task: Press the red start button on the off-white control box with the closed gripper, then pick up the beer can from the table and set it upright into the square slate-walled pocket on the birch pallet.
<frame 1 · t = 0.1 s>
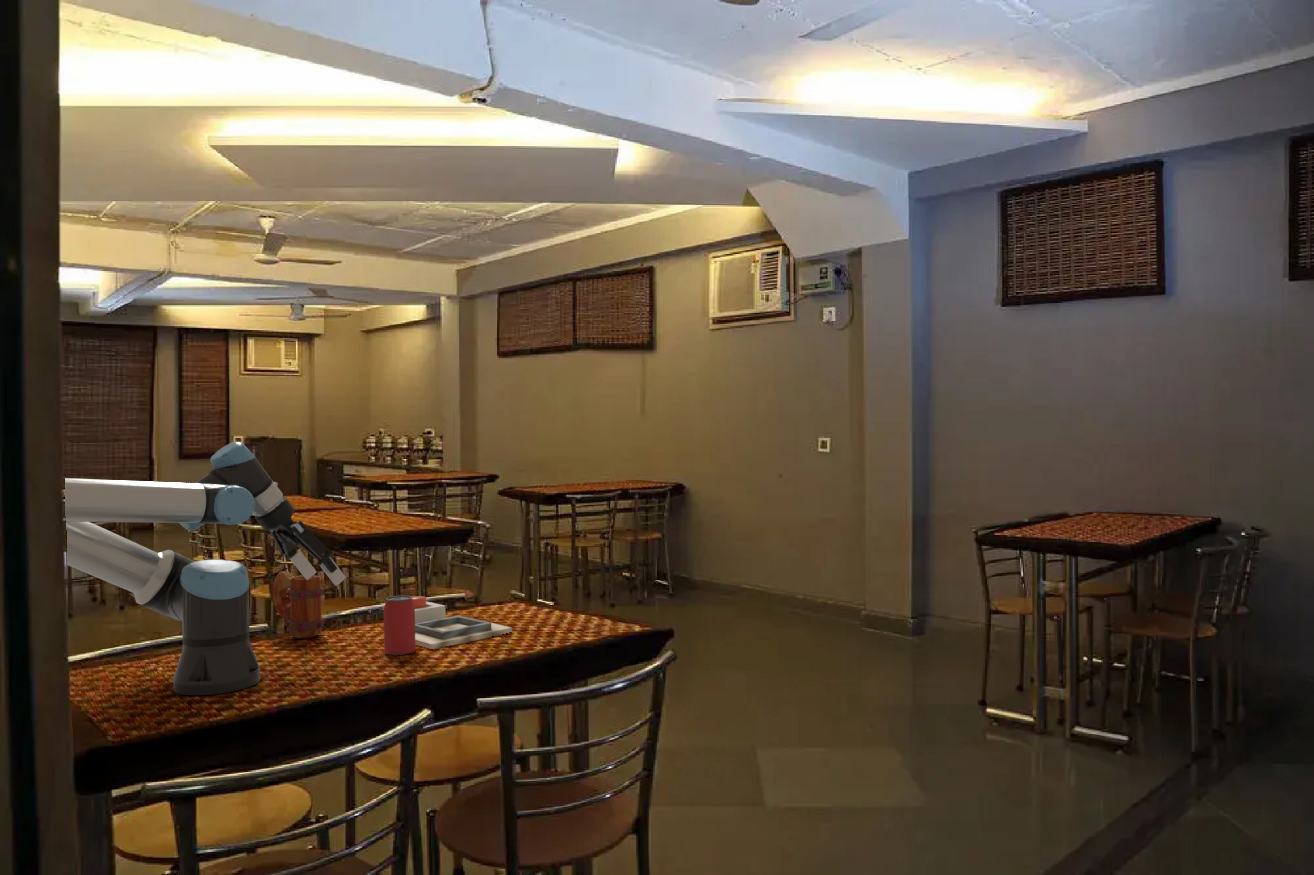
hand: (325, 578, 210), 15 cm above the table, tool tilted 35°, fingers open, 13 cm apart
button box: (416, 626, 231), on the table
start button: (416, 605, 230), point 5 cm above the table, slide at 0.0 cm
beer can: (400, 653, 204), on the table
mug: (298, 636, 222), on the table
pallet: (451, 635, 220), on the table
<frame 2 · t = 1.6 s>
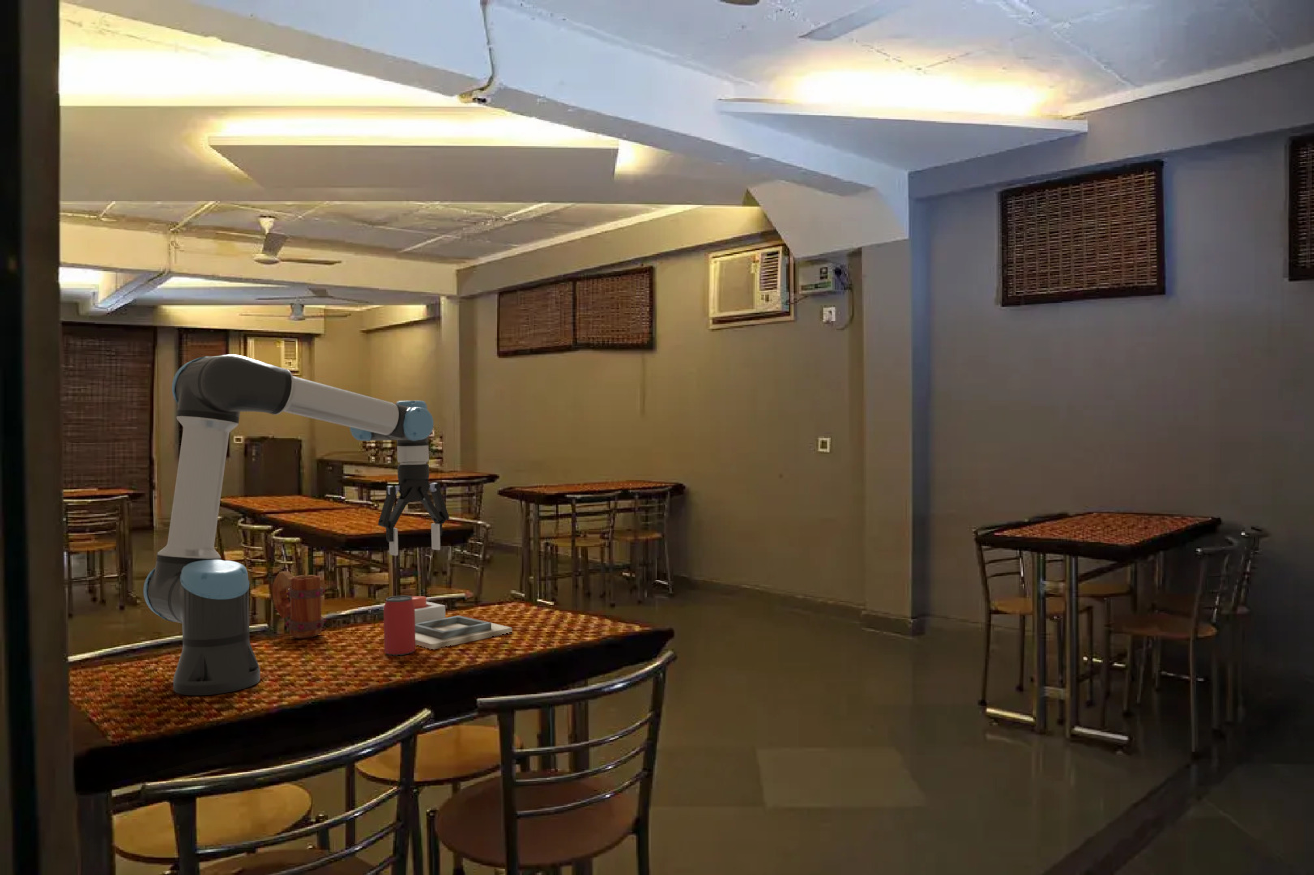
hand: (415, 552, 230), 18 cm above the table, tool pointing down, fingers open, 11 cm apart
nothing on the table moved.
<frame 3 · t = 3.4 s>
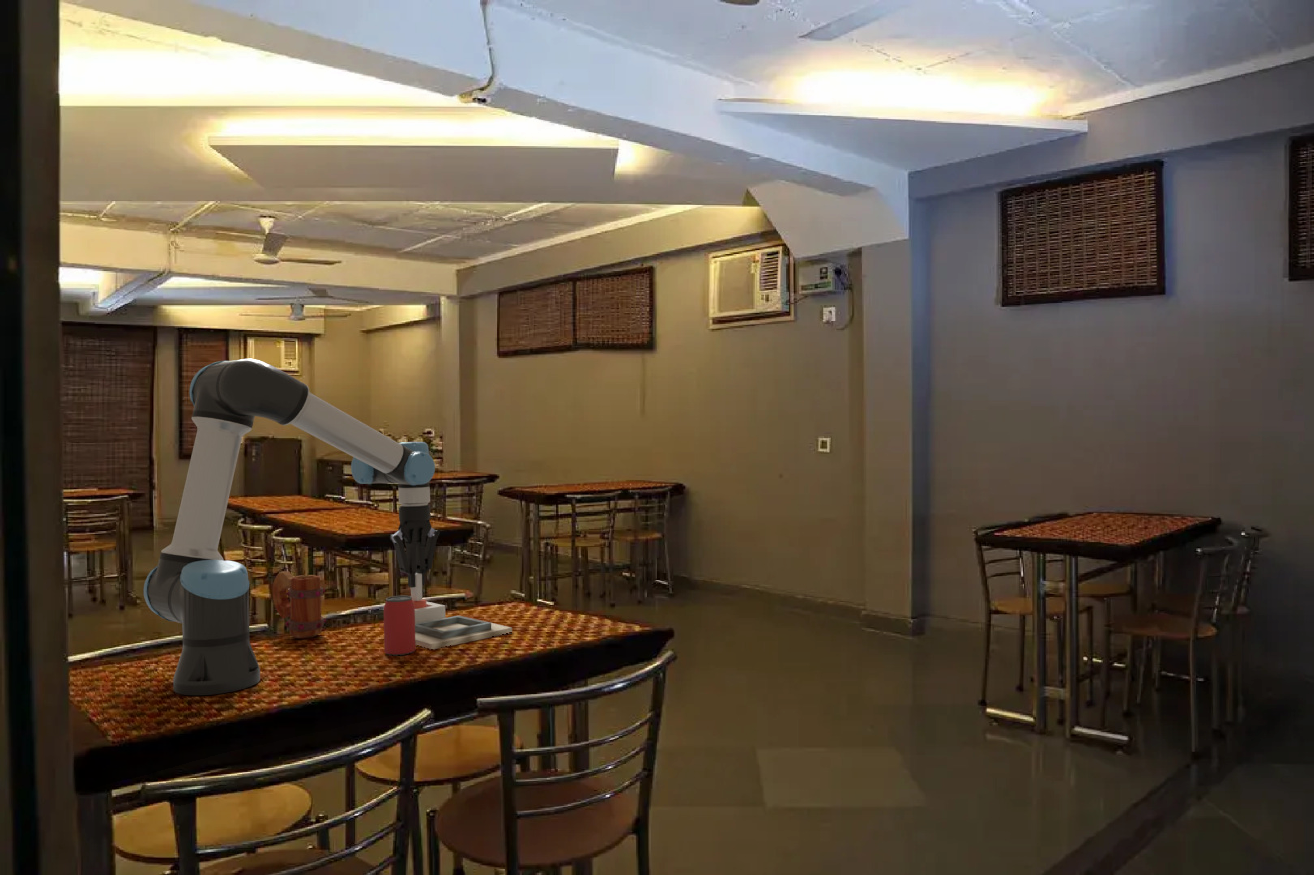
hand: (416, 599, 231), 7 cm above the table, tool pointing down, fingers closed
start button: (416, 607, 230), point 5 cm above the table, slide at 0.7 cm, touching gripper
everything else where it was.
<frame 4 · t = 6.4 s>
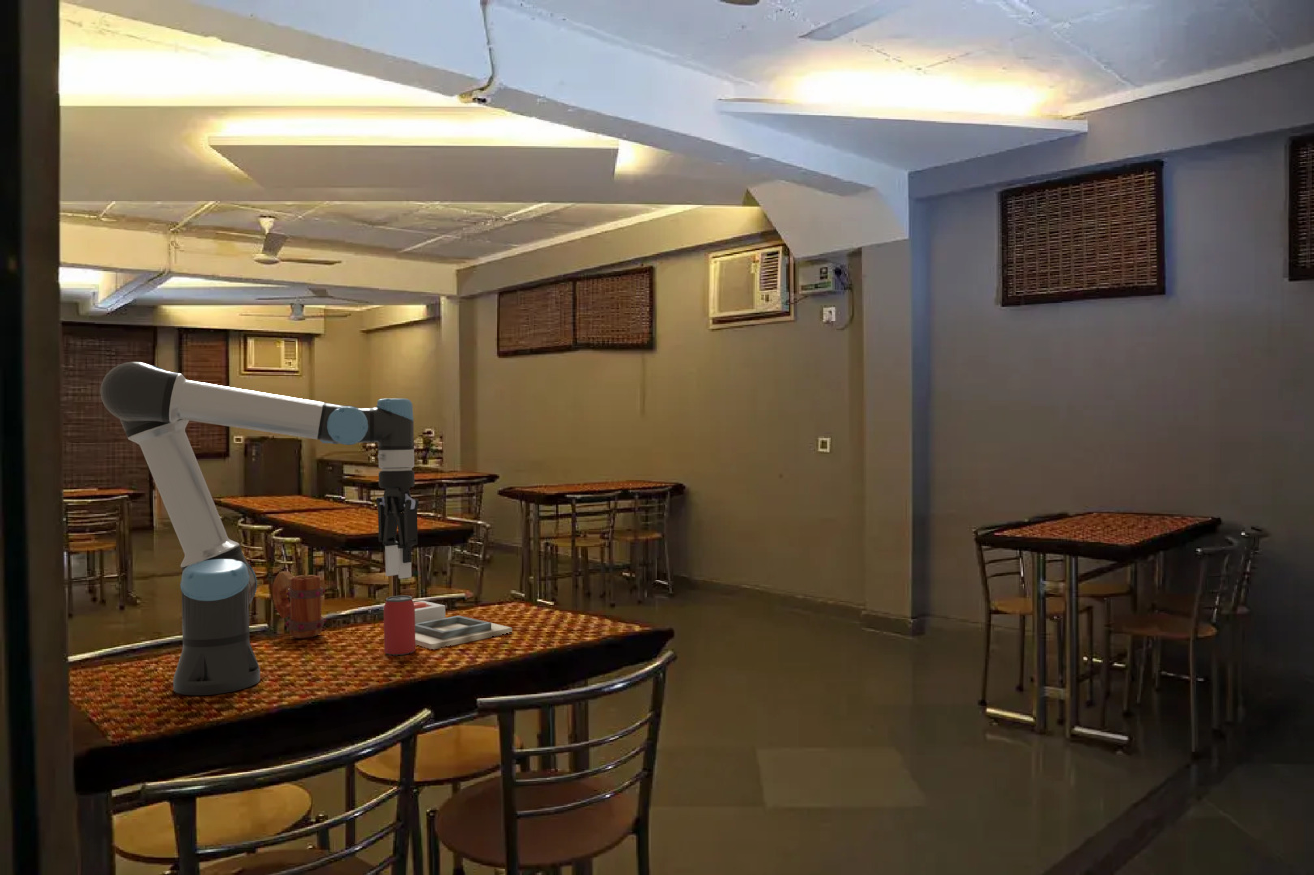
hand: (398, 576, 204), 17 cm above the table, tool pointing down, fingers open, 5 cm apart
start button: (416, 611, 230), point 4 cm above the table, slide at 1.5 cm
everything else where it was.
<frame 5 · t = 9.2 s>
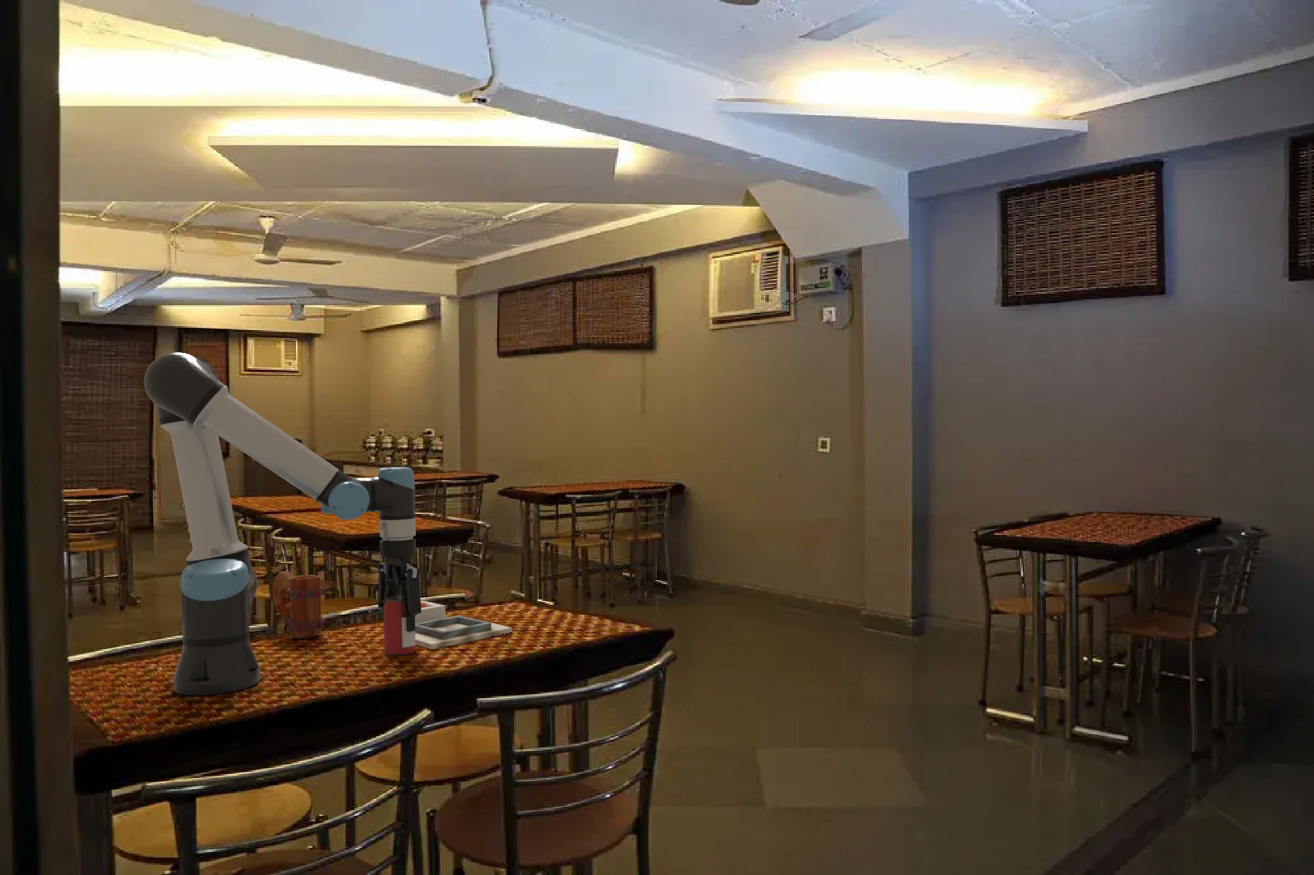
hand: (399, 643, 204), 2 cm above the table, tool pointing down, fingers closed on beer can, 7 cm apart
beer can: (400, 653, 204), on the table, touching gripper
everything else where it was.
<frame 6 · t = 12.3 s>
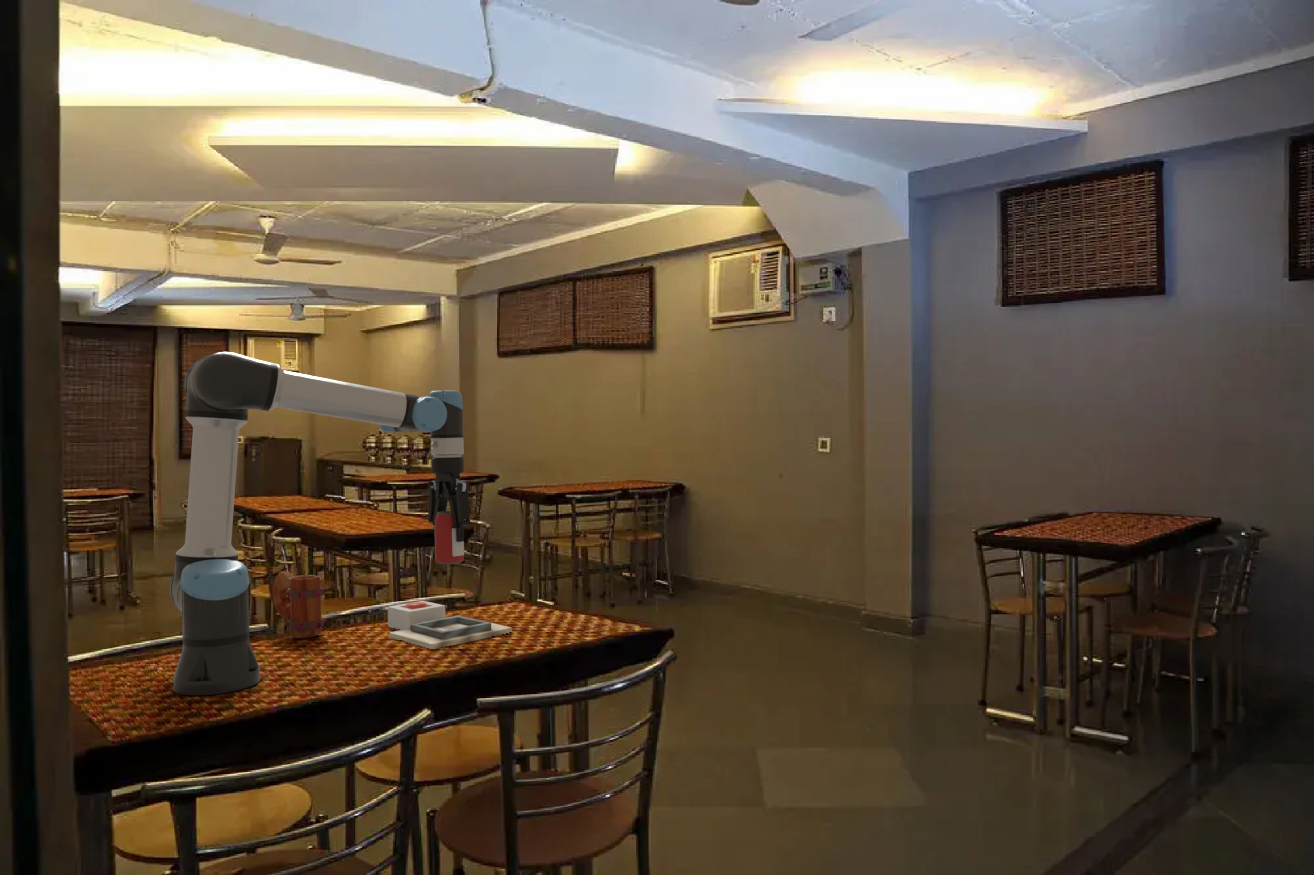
hand: (449, 554, 220), 19 cm above the table, tool pointing down, fingers closed on beer can, 6 cm apart
beer can: (449, 563, 220), point 17 cm above the table, touching gripper
everything else where it was.
when the fingers open (5 cm above the table, at t = 15.7 s): beer can drops 2 cm, resting on pallet.
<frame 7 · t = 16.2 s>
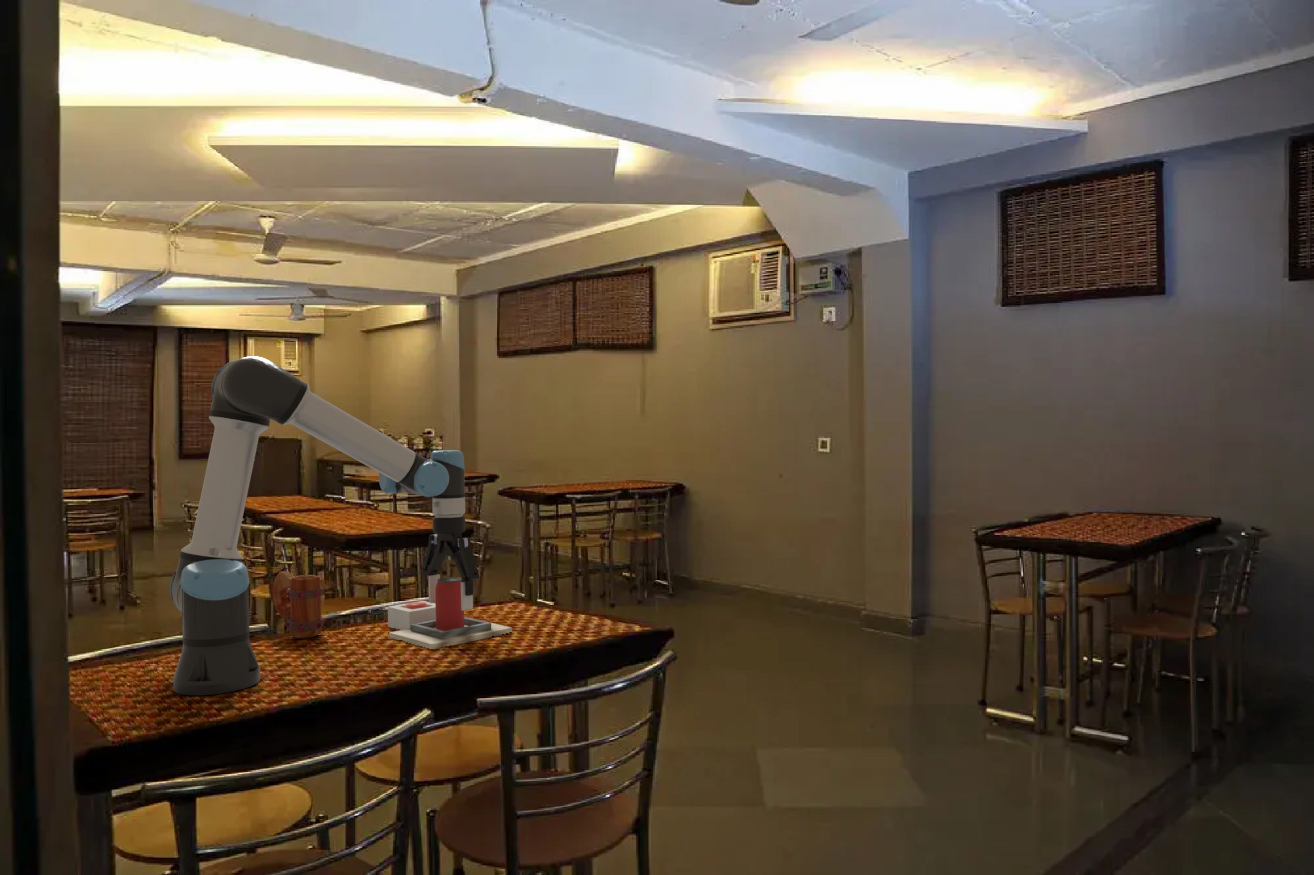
hand: (450, 606, 220), 7 cm above the table, tool pointing down, fingers open, 13 cm apart
beer can: (450, 630, 220), point 1 cm above the table, touching pallet
everything else where it was.
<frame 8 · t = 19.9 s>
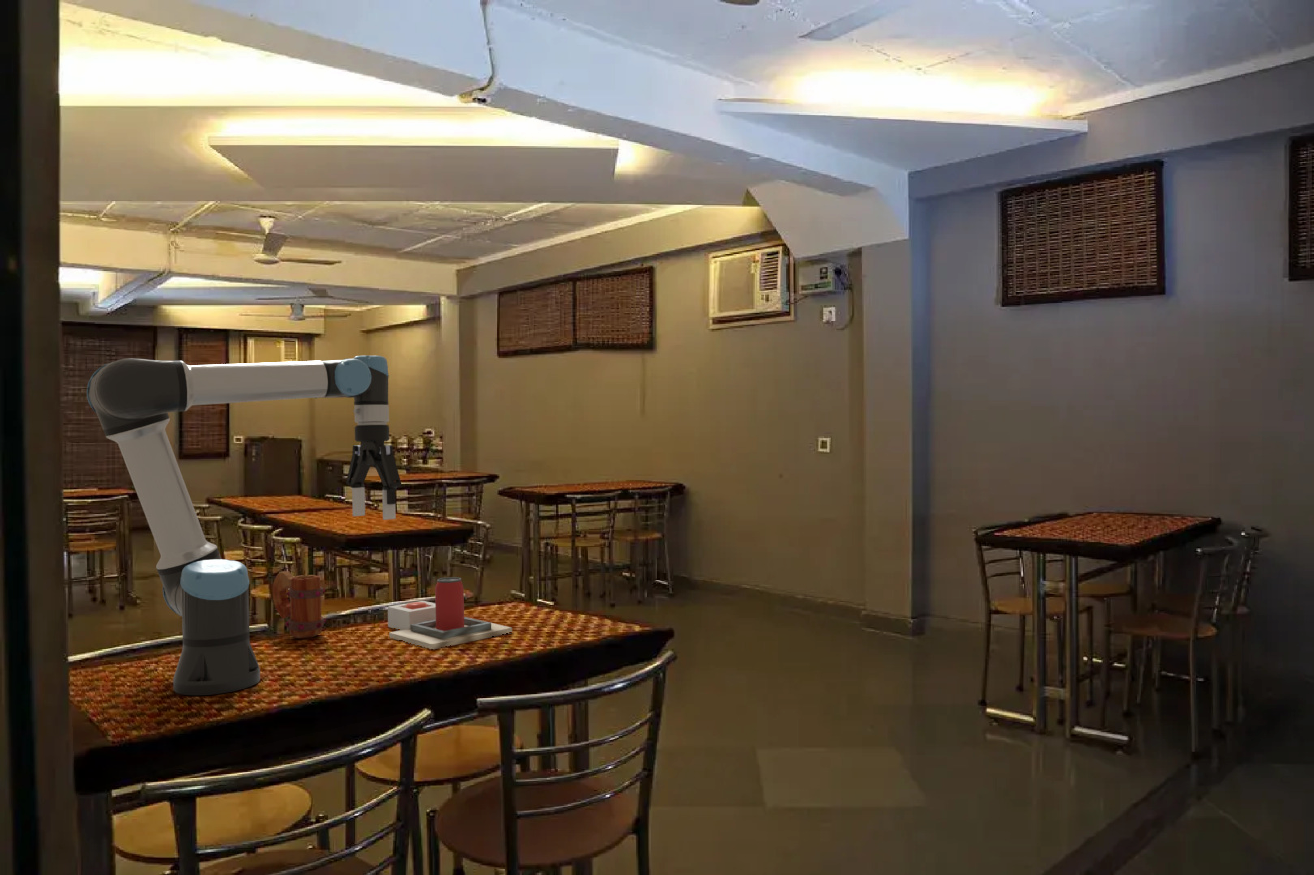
hand: (373, 517, 212), 29 cm above the table, tool pointing down, fingers open, 13 cm apart
nothing on the table moved.
at the end: start button slide at 1.5 cm; beer can 0.3 cm off-centre on the pallet, point 1.0 cm above the pallet's base; beer can tilted 0° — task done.
